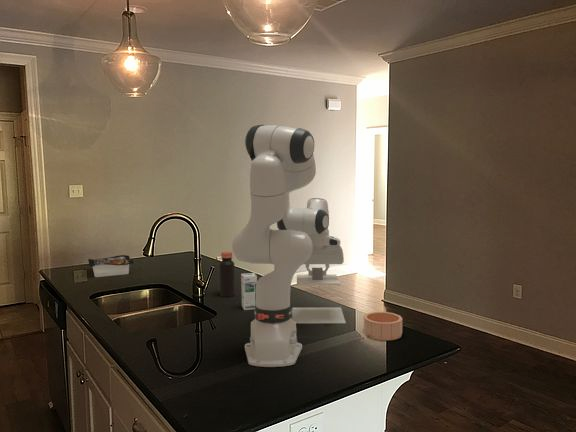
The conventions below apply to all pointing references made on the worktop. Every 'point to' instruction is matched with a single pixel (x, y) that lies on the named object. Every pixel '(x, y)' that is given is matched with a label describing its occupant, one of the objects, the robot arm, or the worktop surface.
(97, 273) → the food packaging
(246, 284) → the syrup box
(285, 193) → the robot arm
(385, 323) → the bowl
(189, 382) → the worktop surface
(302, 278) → the cover sheet
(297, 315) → the mat
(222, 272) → the bottle
